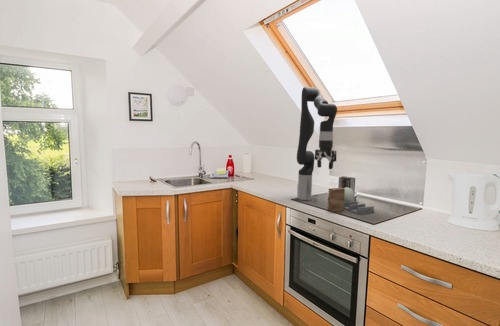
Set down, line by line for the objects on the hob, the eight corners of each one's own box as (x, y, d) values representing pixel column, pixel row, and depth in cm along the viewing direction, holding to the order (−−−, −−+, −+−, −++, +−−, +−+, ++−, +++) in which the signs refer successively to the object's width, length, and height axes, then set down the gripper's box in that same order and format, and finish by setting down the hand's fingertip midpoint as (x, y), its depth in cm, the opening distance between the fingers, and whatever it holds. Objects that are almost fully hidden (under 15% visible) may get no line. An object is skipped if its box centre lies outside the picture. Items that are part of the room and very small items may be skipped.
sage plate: (338, 205, 176) (339, 187, 175) (352, 203, 180) (353, 186, 179) (339, 205, 175) (340, 188, 174) (353, 204, 179) (354, 187, 178)
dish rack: (334, 205, 179) (334, 200, 179) (348, 203, 184) (349, 198, 183) (358, 214, 160) (358, 208, 160) (374, 212, 165) (374, 206, 164)
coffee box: (354, 201, 191) (355, 177, 189) (349, 202, 186) (350, 178, 185) (342, 198, 197) (343, 176, 196) (337, 200, 193) (338, 176, 191)
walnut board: (327, 210, 169) (328, 188, 167) (339, 208, 172) (340, 187, 171) (331, 211, 165) (332, 189, 164) (343, 210, 169) (344, 188, 167)
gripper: (340, 140, 155) (339, 169, 157) (321, 139, 167) (320, 166, 169) (330, 140, 151) (329, 170, 153) (312, 139, 163) (311, 167, 165)
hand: (324, 168), depth 161 cm, fingers open, 8 cm apart
